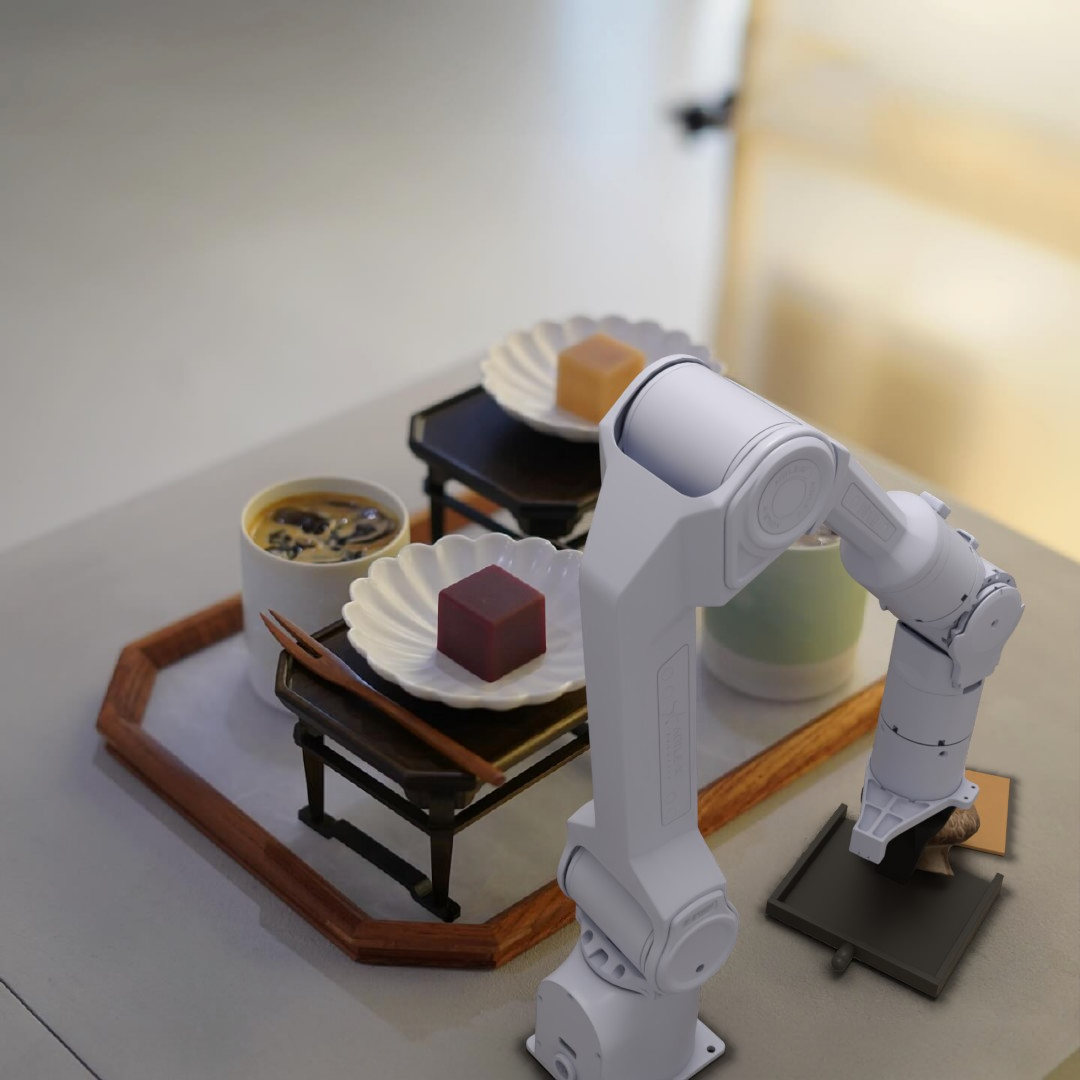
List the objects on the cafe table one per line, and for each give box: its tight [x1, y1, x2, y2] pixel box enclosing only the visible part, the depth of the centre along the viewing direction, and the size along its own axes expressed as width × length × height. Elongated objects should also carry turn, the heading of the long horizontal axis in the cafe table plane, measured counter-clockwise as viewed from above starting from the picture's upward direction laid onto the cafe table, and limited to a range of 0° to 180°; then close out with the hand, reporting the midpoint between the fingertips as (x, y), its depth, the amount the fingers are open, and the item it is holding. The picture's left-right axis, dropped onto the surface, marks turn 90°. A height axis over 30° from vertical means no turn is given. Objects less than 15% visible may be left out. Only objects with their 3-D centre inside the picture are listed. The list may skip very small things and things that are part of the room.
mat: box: [955, 769, 1011, 857], centre depth 110 cm, size 8×8×1 cm
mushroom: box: [916, 804, 980, 876], centre depth 104 cm, size 8×8×6 cm
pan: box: [764, 802, 1005, 998], centre depth 101 cm, size 14×12×2 cm
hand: (893, 872), depth 102 cm, fingers closed, pressing on mushroom
